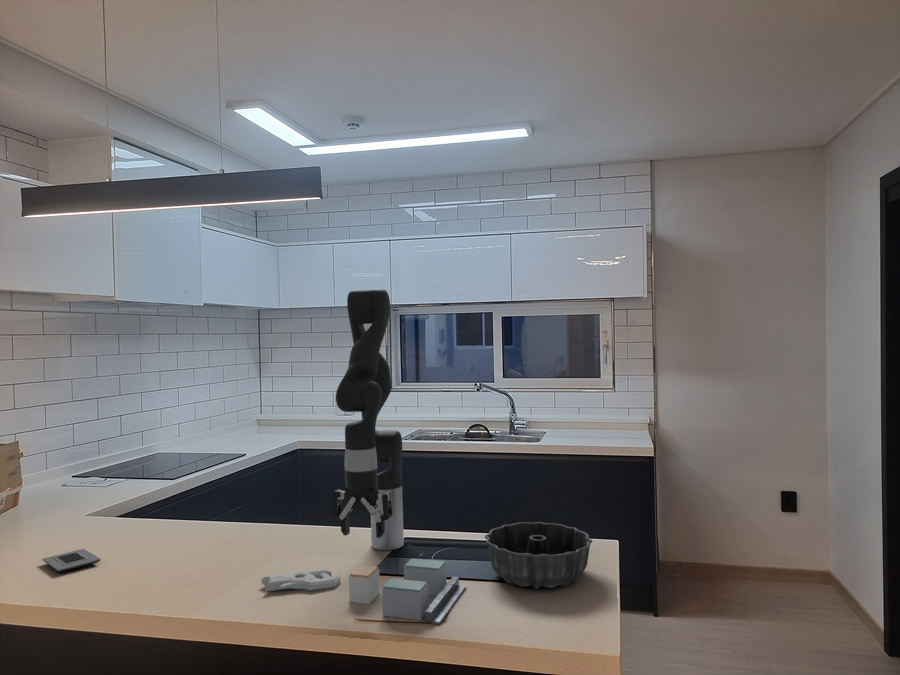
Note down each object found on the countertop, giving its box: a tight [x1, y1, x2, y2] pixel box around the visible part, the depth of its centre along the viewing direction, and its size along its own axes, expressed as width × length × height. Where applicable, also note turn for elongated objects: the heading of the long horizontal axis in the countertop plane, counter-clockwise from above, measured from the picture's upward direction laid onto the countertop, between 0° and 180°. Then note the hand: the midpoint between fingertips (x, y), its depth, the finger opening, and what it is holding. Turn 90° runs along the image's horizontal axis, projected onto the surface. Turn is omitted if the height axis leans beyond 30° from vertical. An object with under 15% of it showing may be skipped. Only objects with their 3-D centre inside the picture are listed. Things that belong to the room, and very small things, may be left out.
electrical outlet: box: [41, 548, 102, 573], centre depth 185 cm, size 13×10×2 cm
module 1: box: [348, 564, 381, 605], centre depth 158 cm, size 6×5×6 cm
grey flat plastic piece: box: [261, 568, 341, 592], centre depth 166 cm, size 18×4×10 cm
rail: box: [424, 576, 467, 625], centre depth 153 cm, size 20×3×2 cm, turn 162°
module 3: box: [381, 578, 430, 621], centre depth 149 cm, size 5×9×6 cm, turn 72°
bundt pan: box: [484, 521, 593, 590], centre depth 168 cm, size 26×26×10 cm
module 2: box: [403, 558, 448, 597], centre depth 161 cm, size 5×9×6 cm, turn 72°
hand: (362, 535), depth 157 cm, fingers open, 8 cm apart
